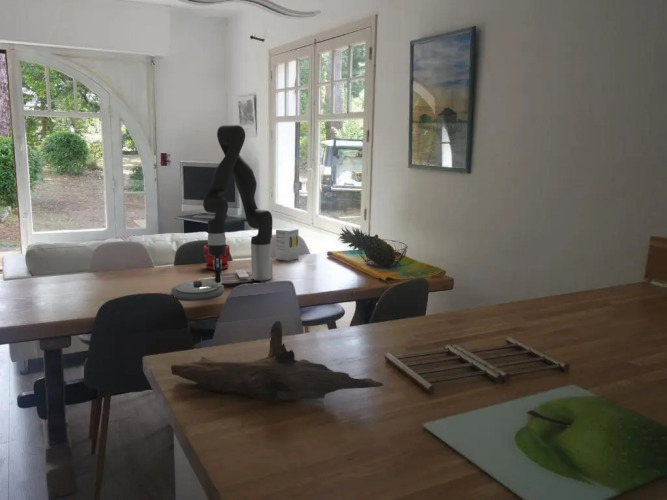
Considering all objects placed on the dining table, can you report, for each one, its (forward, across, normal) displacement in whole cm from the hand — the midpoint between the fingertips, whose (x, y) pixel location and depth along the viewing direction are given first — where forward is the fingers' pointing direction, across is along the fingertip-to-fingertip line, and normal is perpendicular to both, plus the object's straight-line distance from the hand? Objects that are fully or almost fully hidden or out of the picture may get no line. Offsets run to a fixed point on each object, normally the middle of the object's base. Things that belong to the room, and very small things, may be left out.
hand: (218, 282), depth 248 cm
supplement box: (+4, +66, -39) cm, 76 cm away
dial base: (+4, +1, +9) cm, 10 cm away
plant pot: (+4, +49, 0) cm, 49 cm away
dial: (+2, +1, +8) cm, 8 cm away
